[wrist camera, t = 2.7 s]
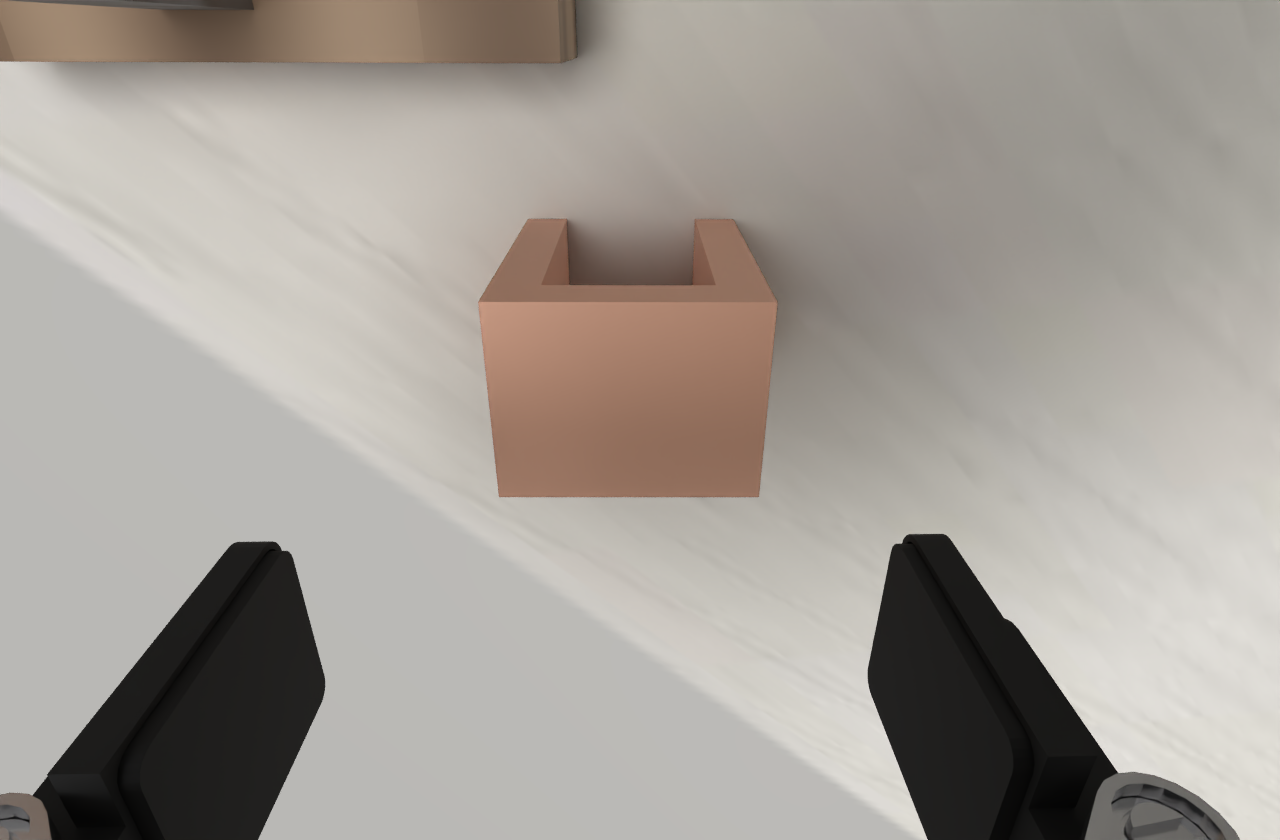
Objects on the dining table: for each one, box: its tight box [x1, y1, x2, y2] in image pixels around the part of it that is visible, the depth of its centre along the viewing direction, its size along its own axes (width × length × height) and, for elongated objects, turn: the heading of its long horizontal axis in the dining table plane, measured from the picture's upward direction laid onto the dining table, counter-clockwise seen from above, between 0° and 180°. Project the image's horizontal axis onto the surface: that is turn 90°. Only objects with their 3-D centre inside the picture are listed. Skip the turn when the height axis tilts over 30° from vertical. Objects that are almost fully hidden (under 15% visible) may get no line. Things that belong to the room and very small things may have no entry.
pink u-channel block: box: [478, 219, 778, 497], centre depth 20 cm, size 6×5×8 cm
